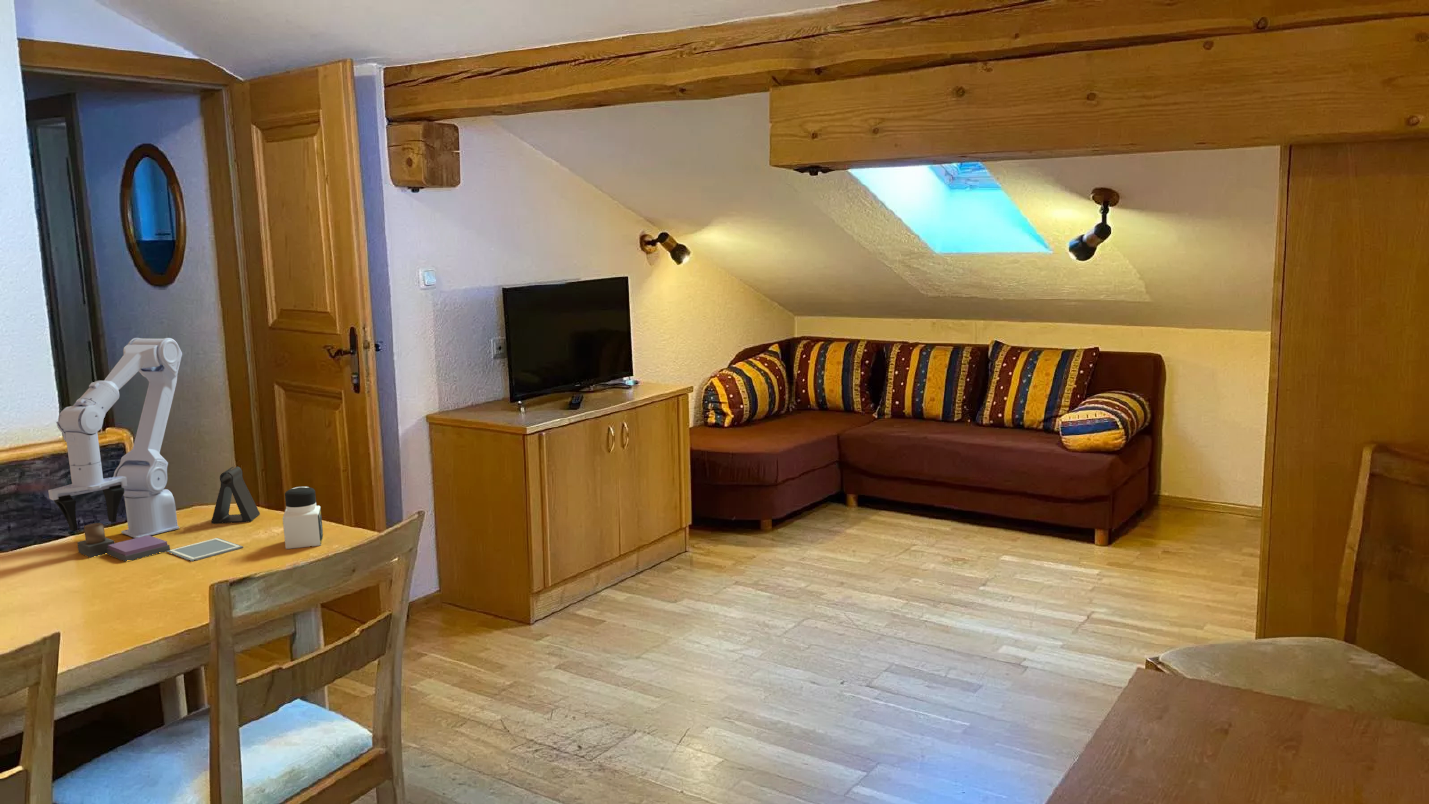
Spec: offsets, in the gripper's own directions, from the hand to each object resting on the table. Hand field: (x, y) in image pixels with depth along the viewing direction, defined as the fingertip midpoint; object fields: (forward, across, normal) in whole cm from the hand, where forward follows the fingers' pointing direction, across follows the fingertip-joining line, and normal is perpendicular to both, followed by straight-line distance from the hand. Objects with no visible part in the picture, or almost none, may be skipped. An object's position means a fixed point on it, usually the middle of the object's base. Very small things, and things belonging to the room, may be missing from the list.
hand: (93, 525), depth 227 cm
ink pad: (+6, +5, -8) cm, 11 cm away
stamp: (+6, 0, 0) cm, 6 cm away
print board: (+6, +14, -18) cm, 24 cm away
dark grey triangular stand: (+6, +30, -1) cm, 31 cm away
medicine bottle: (+6, +29, -32) cm, 44 cm away
